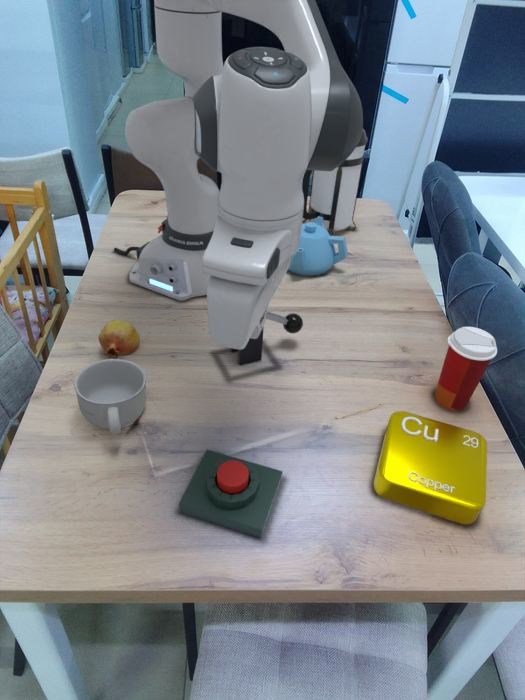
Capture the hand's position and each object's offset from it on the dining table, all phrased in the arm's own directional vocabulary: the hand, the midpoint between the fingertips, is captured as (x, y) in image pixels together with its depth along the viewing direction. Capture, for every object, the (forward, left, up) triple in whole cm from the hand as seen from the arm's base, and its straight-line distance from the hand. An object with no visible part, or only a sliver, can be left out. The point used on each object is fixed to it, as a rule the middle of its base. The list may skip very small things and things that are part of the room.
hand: (254, 331), depth 62 cm
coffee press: (-5, +83, -25) cm, 87 cm away
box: (0, -7, -25) cm, 26 cm away
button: (0, -7, -22) cm, 23 cm away
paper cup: (+30, +25, -25) cm, 47 cm away
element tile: (+27, +7, -25) cm, 38 cm away
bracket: (-8, +22, -25) cm, 34 cm away
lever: (-5, +25, -18) cm, 31 cm away
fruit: (-31, +16, -25) cm, 43 cm away
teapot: (-6, +62, -25) cm, 67 cm away
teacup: (-23, 0, -25) cm, 34 cm away
